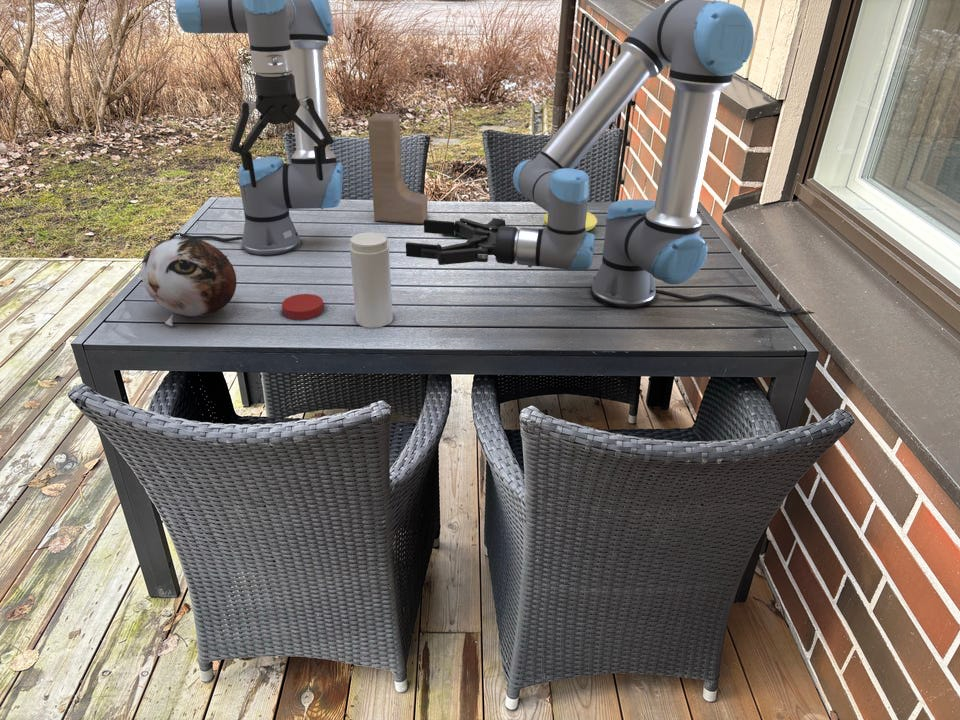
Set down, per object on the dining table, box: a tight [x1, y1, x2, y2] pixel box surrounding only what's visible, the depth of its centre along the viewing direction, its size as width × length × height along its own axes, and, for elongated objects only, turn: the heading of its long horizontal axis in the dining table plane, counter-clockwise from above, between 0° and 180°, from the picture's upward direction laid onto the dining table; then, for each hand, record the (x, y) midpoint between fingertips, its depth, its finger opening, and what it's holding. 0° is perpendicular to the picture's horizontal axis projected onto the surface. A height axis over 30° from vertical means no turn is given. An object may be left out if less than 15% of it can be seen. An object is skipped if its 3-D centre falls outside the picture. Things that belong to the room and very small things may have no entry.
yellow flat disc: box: [543, 211, 598, 232], centre depth 209 cm, size 16×16×7 cm
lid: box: [281, 293, 325, 321], centre depth 163 cm, size 9×9×2 cm
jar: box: [349, 231, 394, 329], centre depth 155 cm, size 8×8×19 cm
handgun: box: [444, 217, 507, 238], centre depth 207 cm, size 16×3×15 cm
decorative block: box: [367, 112, 429, 225], centre depth 209 cm, size 8×15×30 cm, turn 82°
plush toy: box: [140, 236, 238, 327], centre depth 157 cm, size 22×18×20 cm
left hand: (287, 182), depth 148 cm, fingers open, 13 cm apart
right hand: (415, 237), depth 148 cm, fingers open, 13 cm apart
